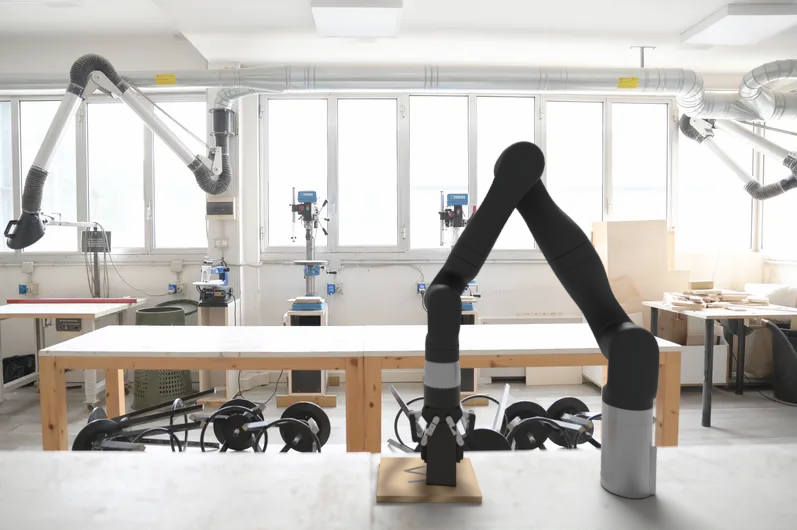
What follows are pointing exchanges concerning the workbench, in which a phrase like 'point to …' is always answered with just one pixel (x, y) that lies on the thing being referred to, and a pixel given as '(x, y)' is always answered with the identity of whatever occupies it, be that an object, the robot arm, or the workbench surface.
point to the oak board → (424, 482)
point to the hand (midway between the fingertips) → (441, 461)
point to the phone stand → (441, 455)
